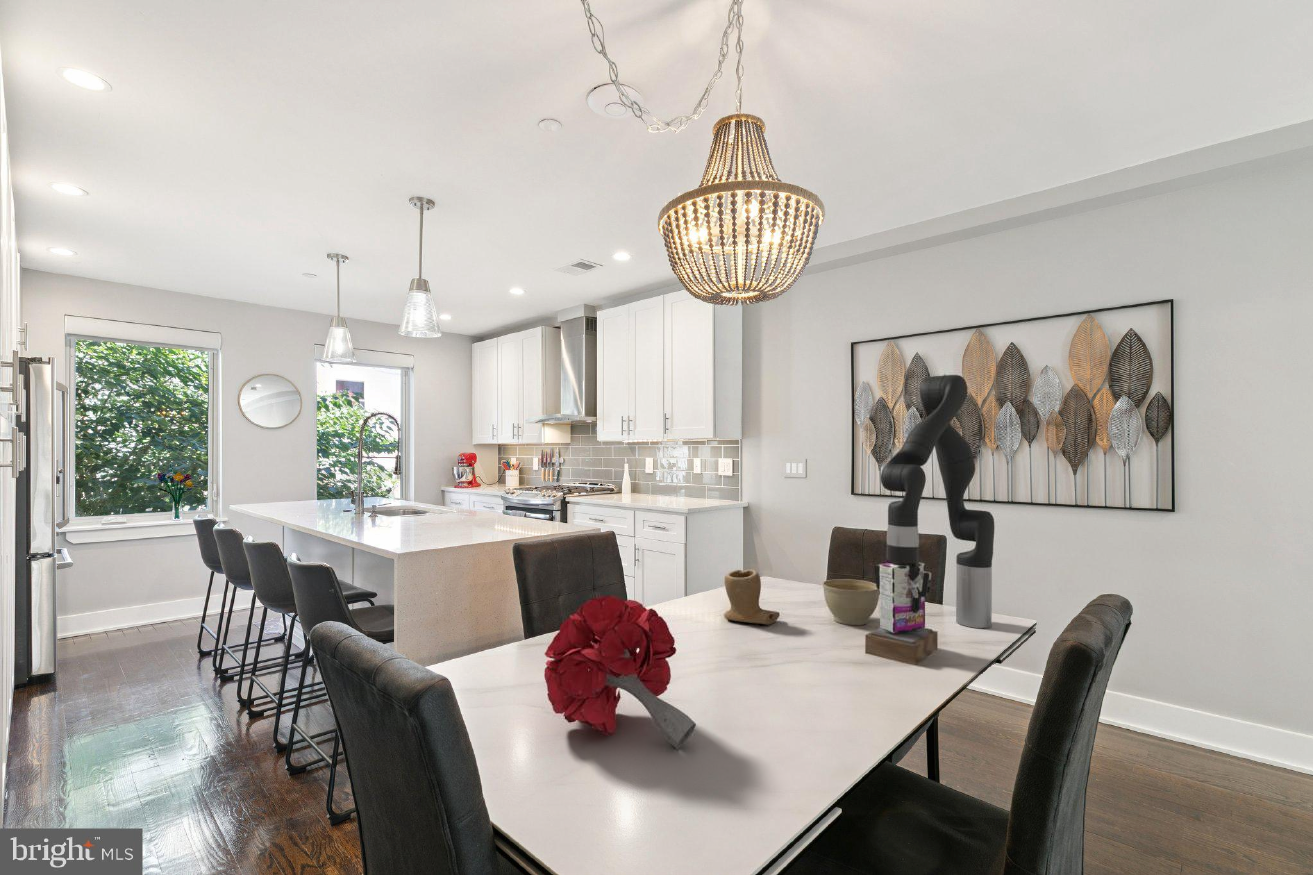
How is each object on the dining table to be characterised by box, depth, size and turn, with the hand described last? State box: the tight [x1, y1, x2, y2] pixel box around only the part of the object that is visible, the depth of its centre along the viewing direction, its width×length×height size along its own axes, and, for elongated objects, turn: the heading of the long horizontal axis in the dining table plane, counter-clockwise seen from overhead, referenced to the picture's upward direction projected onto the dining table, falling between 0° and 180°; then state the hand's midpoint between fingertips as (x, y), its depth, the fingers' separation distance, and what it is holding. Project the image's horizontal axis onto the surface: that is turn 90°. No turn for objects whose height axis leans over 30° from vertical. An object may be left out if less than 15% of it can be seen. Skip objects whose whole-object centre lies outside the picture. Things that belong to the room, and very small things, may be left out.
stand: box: [864, 627, 939, 666], centre depth 154 cm, size 16×12×5 cm
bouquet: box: [544, 595, 697, 750], centre depth 110 cm, size 22×24×30 cm
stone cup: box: [723, 568, 781, 626], centre depth 178 cm, size 15×12×15 cm
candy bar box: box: [878, 561, 926, 633], centre depth 154 cm, size 11×5×16 cm, turn 116°
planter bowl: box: [822, 578, 880, 626], centre depth 180 cm, size 16×16×11 cm
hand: (902, 609), depth 154 cm, fingers closed on candy bar box, 6 cm apart
